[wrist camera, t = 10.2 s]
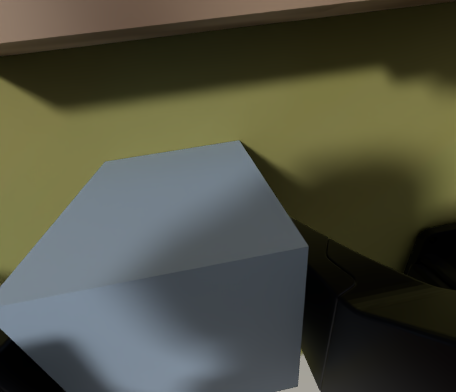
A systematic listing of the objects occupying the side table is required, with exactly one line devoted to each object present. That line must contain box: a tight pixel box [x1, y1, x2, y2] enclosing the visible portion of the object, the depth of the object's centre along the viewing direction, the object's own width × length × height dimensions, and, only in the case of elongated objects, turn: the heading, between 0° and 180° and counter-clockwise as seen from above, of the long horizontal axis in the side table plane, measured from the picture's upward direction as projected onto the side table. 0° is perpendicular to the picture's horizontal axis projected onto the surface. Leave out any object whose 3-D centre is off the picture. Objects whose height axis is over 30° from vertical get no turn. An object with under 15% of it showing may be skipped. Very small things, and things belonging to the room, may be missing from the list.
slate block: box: [0, 141, 309, 392], centre depth 7 cm, size 5×5×6 cm
